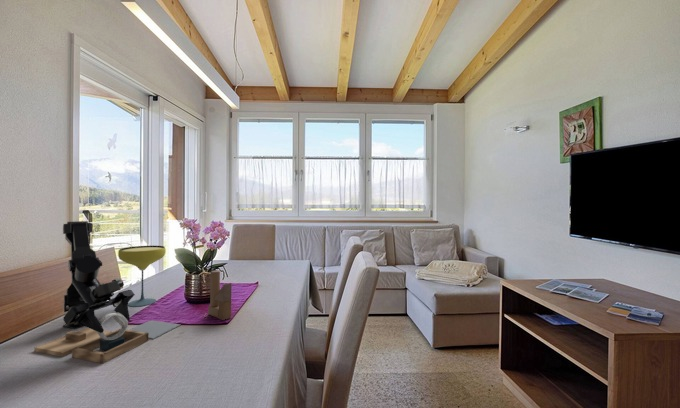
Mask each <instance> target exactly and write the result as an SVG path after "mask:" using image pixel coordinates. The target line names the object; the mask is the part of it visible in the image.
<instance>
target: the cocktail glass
mask: <svg viewBox="0 0 680 408" xmlns="http://www.w3.org/2000/svg"><path fill="white" fill-rule="evenodd" d="M166 252H167V251H166V247H165V246H163V245H138V246H128V247H122V248H120V249H119V250H118V253H117V256H118V259H119V260H120V261H122V262H124V263H126V264H128V265H131V266H135V267H136V268H138V270H139V271H141V290H140V291H141V293H140V298H138V299H135V300H132V301H129V302H128V307H133V308H134V307H135V308H137V307H145V306H149V305H153V304H154V303H156V302H157V299H156V298H145V296H144V295H145V294H144V293H145V292H144V271H145V270H146V269H147V268H148V267H149V266H151V264H153V263H156V262H157V261H159V260H161V259H162V258H164V257H165V255H166Z"/></svg>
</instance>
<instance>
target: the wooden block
mask: <svg viewBox="0 0 680 408" xmlns="http://www.w3.org/2000/svg"><path fill="white" fill-rule="evenodd" d="M209 284H210V290H209V291H210V293H209V294H210V295H209V297H210V299H209V300H210V303H209V306H207V307H208V308H207V310H208V311H207V314H208V315H209V316H212V317H214V318H216V319H219V320H221V319H222V321H226V320H229V319H231V318H232V282H230V283H224V284H223V285H222V287H221V286H220V285H221V271H220V270H211V271H210V283H209ZM220 287H221V288H220ZM225 319H226V320H225Z"/></svg>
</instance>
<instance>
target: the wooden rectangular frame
mask: <svg viewBox="0 0 680 408" xmlns="http://www.w3.org/2000/svg"><path fill="white" fill-rule="evenodd" d="M120 330H121V328H119V329H116V330H115V331H111V332H112V333H109V334H107V335H105V336H107V337H109V336H112V335H115V334H118V332H119V331H120ZM148 336H149V333H146V332H139V331H133V330H130V329H126V331H125V332H123V335H121V337H123V338H125V339H128V340H127V341H125V343H123V344H121V345H119V346H117V347H114V348H112V349H110V350H108V351H106V352H104V351H97V350H95V349H97V348H100V339H102V338H101V337H100V338H97V339H95V340H92V341H90V342H88V343H85V344H83V345H80V346H78V347H76V348H73V349H72V353H71V358H72V359H73V358H74V359H78V360H84V361H88V362H94V363H100V364H104V363H106V362H108V361H111V360H112V359H114V358H116V357H118V356H121V355H122V354H124V353H126V352H129V351H130V350H132V349H134V348H136V347H138V346H140V345H142V344H144V343H147V342H148V341H149V339H148Z"/></svg>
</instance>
